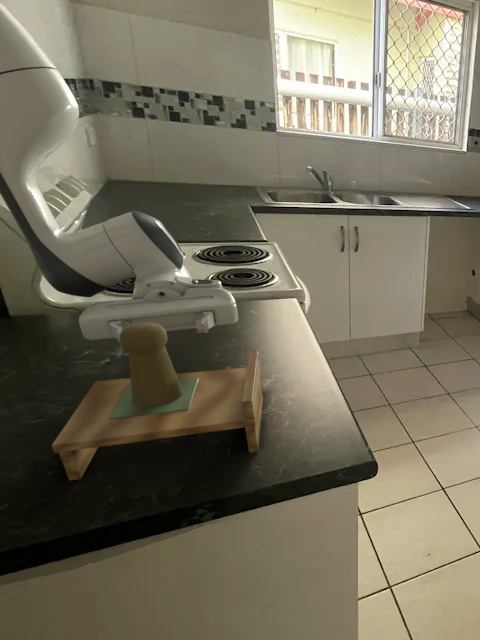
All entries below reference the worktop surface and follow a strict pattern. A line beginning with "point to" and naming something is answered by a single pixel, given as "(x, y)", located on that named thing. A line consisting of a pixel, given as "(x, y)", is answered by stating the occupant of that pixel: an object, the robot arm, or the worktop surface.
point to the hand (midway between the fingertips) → (164, 333)
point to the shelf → (162, 413)
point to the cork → (150, 365)
